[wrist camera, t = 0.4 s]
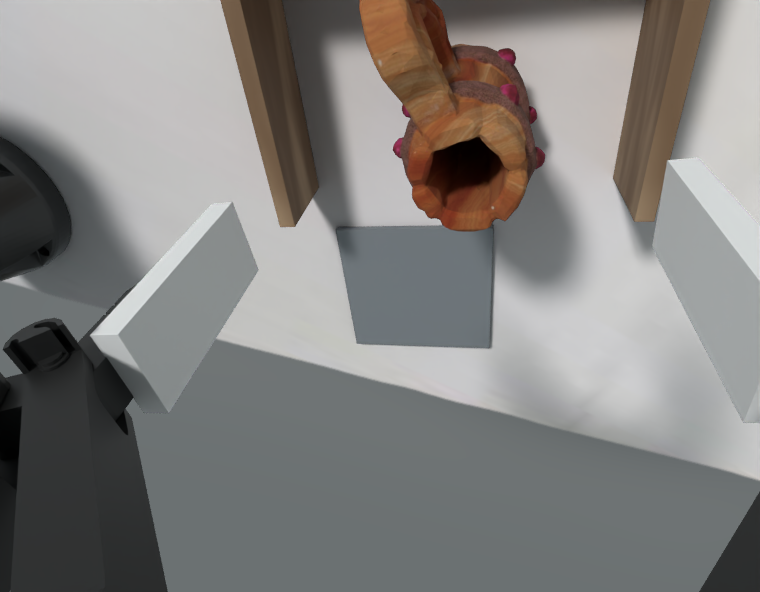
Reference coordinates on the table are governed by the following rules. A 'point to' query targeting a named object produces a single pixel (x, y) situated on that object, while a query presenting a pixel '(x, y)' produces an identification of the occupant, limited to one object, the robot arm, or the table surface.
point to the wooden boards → (638, 137)
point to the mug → (454, 115)
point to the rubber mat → (418, 284)
